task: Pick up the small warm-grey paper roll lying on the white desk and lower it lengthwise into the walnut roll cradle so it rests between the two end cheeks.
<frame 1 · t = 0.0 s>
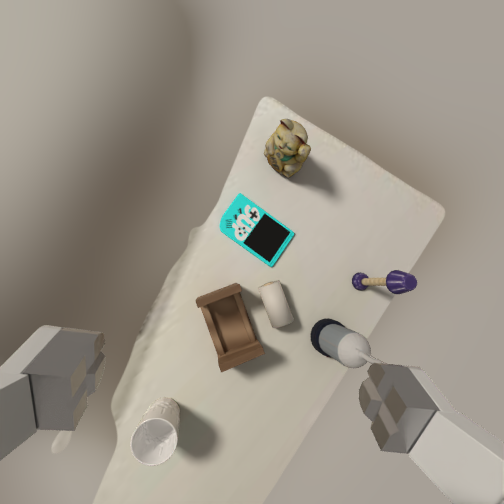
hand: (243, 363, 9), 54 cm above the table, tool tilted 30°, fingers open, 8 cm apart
holder: (227, 320, 62), on the table
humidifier: (327, 336, 65), on the table
toy lamp: (360, 280, 67), on the table
decorative figurine: (281, 159, 67), on the table
white cup: (163, 413, 59), on the table
handheld game console: (255, 230, 65), on the table
roll: (273, 302, 64), on the table
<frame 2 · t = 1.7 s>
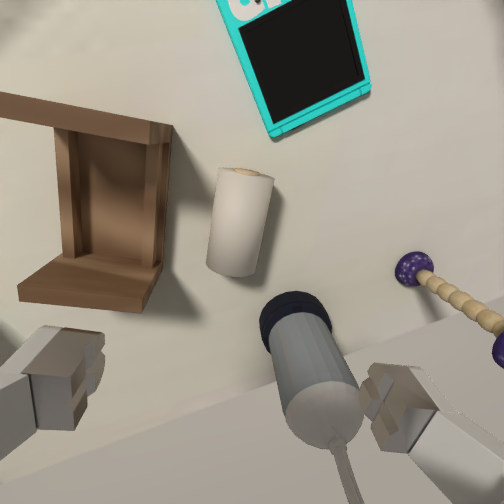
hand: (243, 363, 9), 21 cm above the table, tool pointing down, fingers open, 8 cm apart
holder: (118, 197, 27), on the table
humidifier: (291, 319, 34), on the table
toy lamp: (413, 267, 33), on the table
handheld game console: (287, 18, 23), on the table
roll: (232, 214, 28), on the table, tilted 12°
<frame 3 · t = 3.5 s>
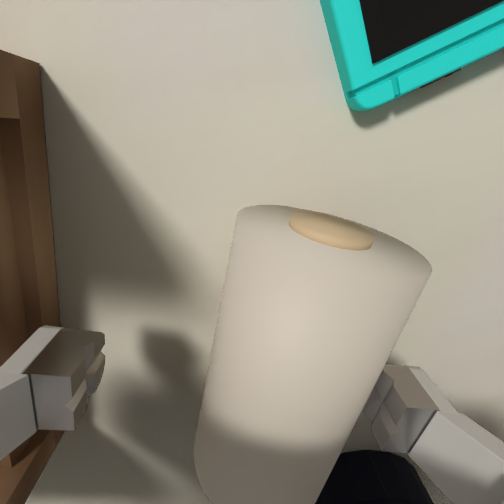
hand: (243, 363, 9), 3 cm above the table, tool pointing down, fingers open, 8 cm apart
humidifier: (349, 489, 17), on the table
roll: (226, 325, 10), point 1 cm above the table, tilted 55°
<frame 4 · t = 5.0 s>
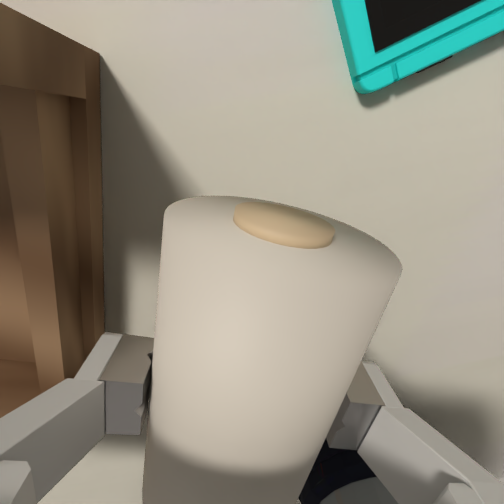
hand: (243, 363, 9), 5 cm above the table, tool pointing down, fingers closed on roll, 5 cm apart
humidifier: (351, 446, 19), on the table
roll: (226, 320, 10), point 3 cm above the table, tilted 14°, touching gripper
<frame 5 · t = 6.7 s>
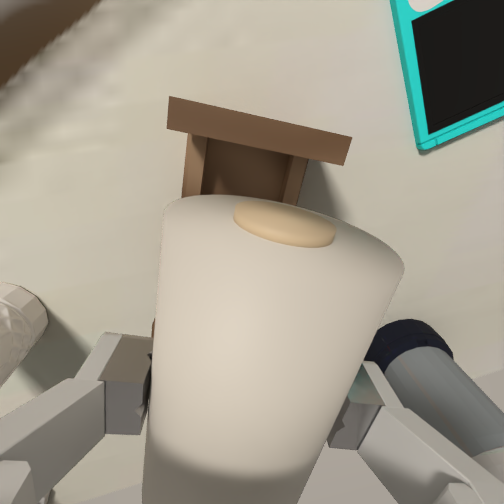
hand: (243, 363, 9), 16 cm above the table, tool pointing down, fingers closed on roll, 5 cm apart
holder: (236, 214, 23), on the table
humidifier: (398, 348, 31), on the table
white cup: (11, 311, 26), on the table
handheld game console: (461, 8, 19), on the table
roll: (226, 320, 10), point 15 cm above the table, tilted 13°, touching gripper
when the fingers open (4 cm above the table, at t = 9.2 s): roll drops 1 cm, resting on holder.
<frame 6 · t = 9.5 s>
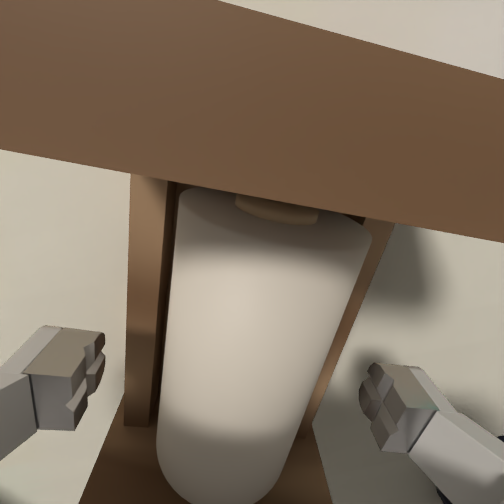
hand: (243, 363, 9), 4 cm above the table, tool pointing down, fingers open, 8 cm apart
holder: (240, 289, 12), on the table
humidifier: (490, 469, 20), on the table
roll: (227, 298, 11), point 1 cm above the table, tilted 15°, touching holder
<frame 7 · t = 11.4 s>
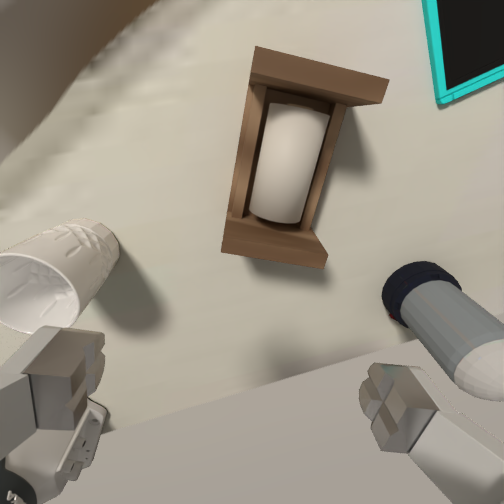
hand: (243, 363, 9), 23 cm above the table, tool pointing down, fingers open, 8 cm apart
holder: (281, 161, 28), on the table
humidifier: (413, 289, 35), on the table
white cup: (90, 245, 31), on the table
roll: (276, 160, 27), point 1 cm above the table, tilted 13°, touching holder
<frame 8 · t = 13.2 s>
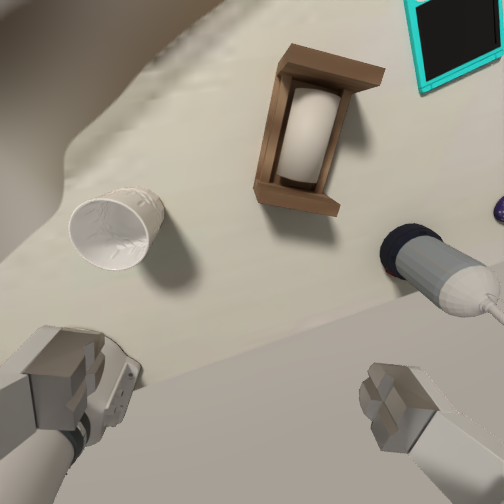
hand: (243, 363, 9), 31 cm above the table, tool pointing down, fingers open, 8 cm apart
holder: (299, 138, 35), on the table
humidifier: (405, 248, 43), on the table
white cup: (139, 210, 38), on the table
handheld game console: (446, 0, 31), on the table
roll: (296, 136, 34), point 1 cm above the table, tilted 15°, touching holder
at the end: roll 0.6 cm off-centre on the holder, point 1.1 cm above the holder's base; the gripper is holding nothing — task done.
